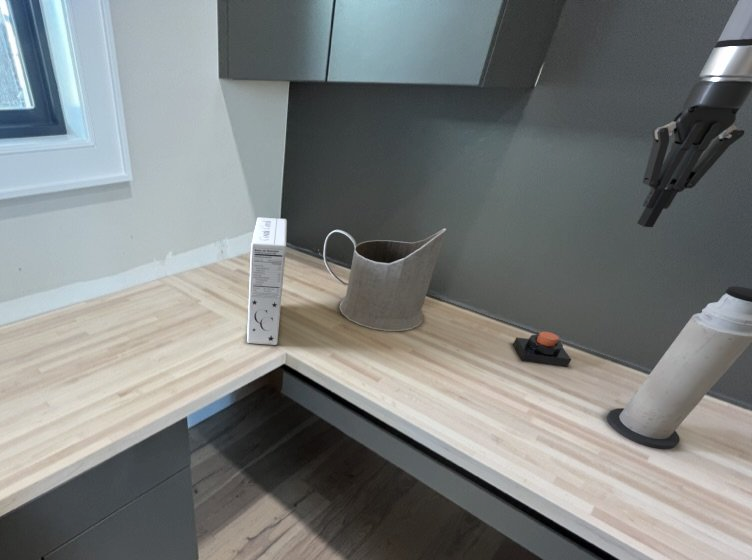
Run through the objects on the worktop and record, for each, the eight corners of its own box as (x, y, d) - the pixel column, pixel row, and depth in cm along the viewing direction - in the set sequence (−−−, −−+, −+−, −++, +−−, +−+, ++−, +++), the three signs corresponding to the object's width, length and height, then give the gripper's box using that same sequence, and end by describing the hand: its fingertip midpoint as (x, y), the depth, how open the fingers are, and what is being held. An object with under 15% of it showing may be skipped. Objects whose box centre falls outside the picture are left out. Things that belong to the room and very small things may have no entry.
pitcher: (408, 339, 108) (438, 242, 94) (300, 307, 122) (311, 218, 108) (431, 308, 124) (459, 221, 109) (333, 282, 138) (346, 202, 123)
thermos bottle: (659, 417, 84) (766, 285, 67) (678, 443, 78) (801, 305, 61) (612, 408, 86) (706, 278, 69) (627, 433, 80) (734, 297, 63)
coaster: (657, 416, 85) (660, 413, 85) (690, 453, 77) (693, 450, 76) (597, 407, 87) (599, 404, 87) (622, 442, 79) (624, 439, 78)
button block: (555, 350, 106) (563, 336, 104) (567, 367, 100) (575, 352, 97) (512, 344, 108) (519, 330, 105) (521, 360, 102) (528, 346, 99)
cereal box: (253, 306, 122) (257, 217, 107) (278, 307, 122) (286, 218, 107) (246, 343, 105) (251, 243, 90) (277, 345, 104) (286, 245, 90)
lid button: (551, 340, 103) (555, 332, 102) (557, 348, 100) (561, 340, 98) (533, 337, 104) (537, 330, 102) (539, 345, 100) (542, 338, 99)
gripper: (756, 81, 72) (671, 222, 86) (668, 79, 74) (599, 218, 88) (791, 80, 66) (694, 233, 80) (694, 79, 68) (616, 227, 82)
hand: (644, 225), depth 84 cm, fingers closed
